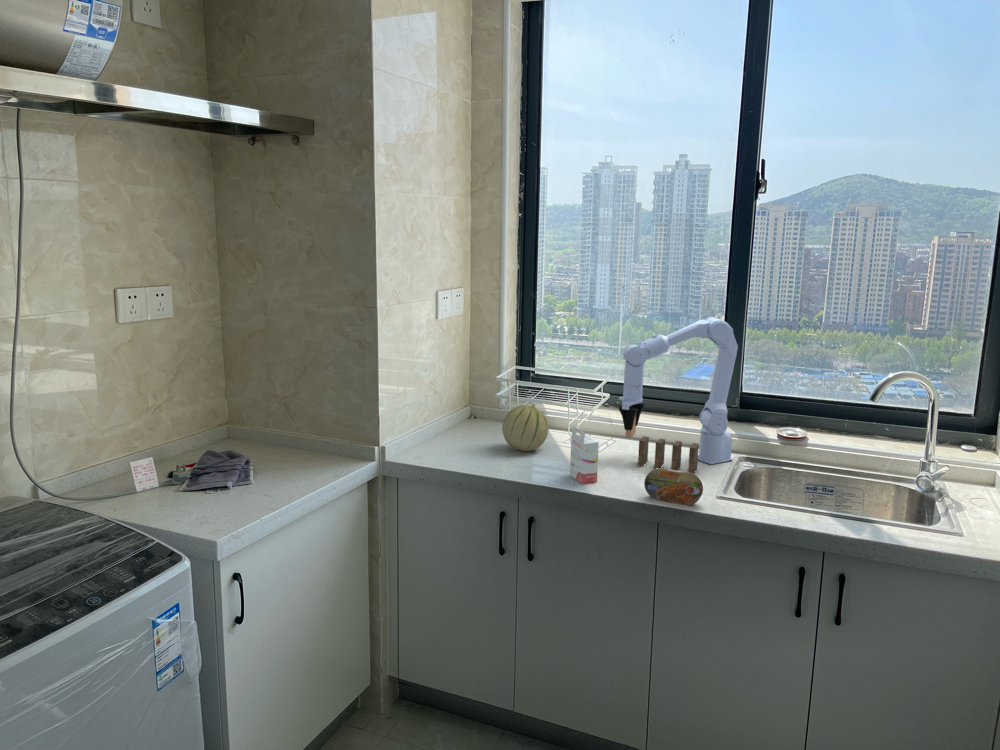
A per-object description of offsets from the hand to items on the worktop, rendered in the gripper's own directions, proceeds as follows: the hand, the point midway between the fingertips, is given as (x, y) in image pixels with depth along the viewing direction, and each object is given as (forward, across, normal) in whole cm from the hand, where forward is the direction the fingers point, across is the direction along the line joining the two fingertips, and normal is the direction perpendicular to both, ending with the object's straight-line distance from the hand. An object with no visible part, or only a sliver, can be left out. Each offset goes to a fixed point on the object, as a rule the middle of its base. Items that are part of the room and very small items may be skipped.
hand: (630, 427), depth 226 cm
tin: (+10, +30, +21) cm, 38 cm away
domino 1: (+2, 0, 0) cm, 2 cm away
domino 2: (+10, +3, +5) cm, 12 cm away
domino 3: (+10, +3, +10) cm, 14 cm away
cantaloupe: (+10, +8, -32) cm, 35 cm away
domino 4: (+10, +3, +15) cm, 18 cm away
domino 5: (+10, +3, +20) cm, 23 cm away
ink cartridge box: (+10, +24, -6) cm, 27 cm away
